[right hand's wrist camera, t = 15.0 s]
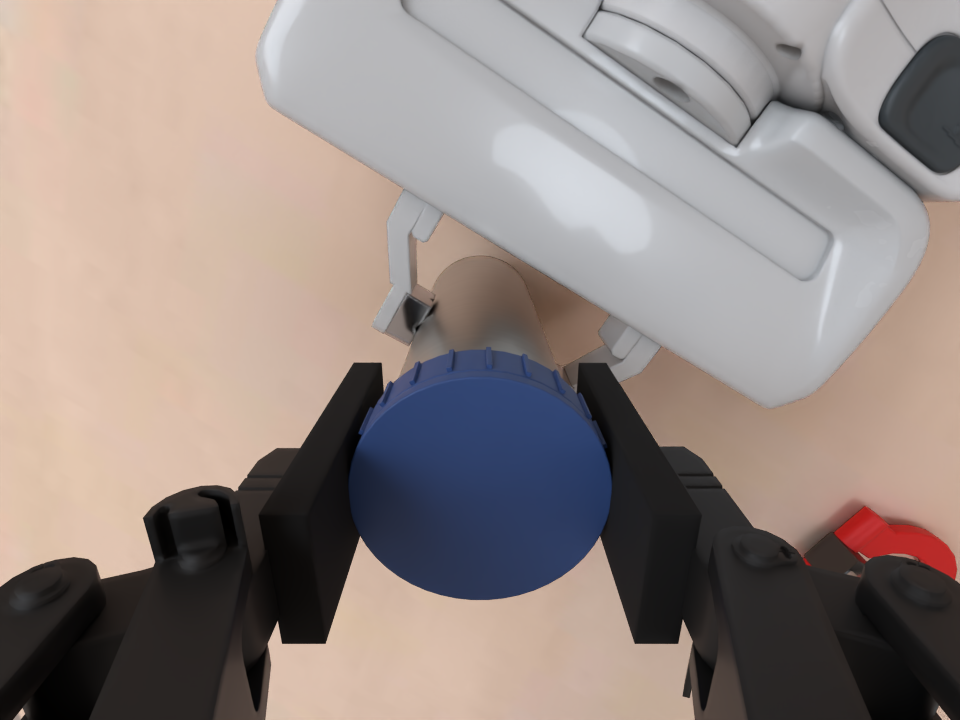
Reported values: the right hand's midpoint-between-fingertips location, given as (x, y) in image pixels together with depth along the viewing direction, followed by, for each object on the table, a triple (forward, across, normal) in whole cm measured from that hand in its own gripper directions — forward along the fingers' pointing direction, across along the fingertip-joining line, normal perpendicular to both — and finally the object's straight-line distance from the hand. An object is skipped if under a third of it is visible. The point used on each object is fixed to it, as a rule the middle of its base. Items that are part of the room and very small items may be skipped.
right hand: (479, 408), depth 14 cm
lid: (-4, 0, 0) cm, 4 cm away
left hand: (+4, 0, -1) cm, 4 cm away
